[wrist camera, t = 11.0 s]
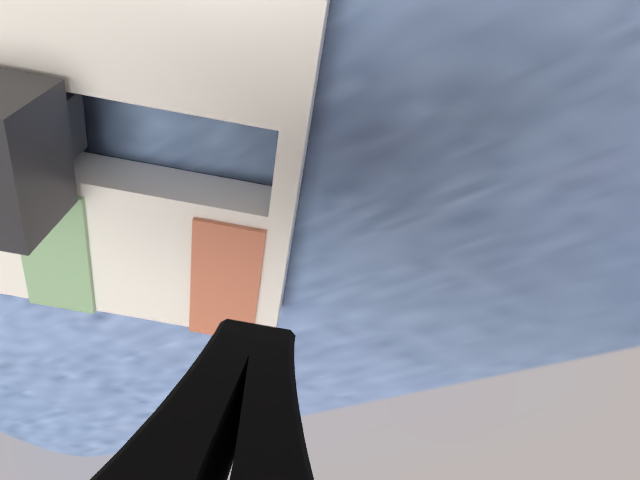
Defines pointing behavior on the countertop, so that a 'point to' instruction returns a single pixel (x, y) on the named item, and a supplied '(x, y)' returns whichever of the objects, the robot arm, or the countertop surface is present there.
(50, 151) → the switch handle
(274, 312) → the switch board
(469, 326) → the countertop surface
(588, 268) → the countertop surface
